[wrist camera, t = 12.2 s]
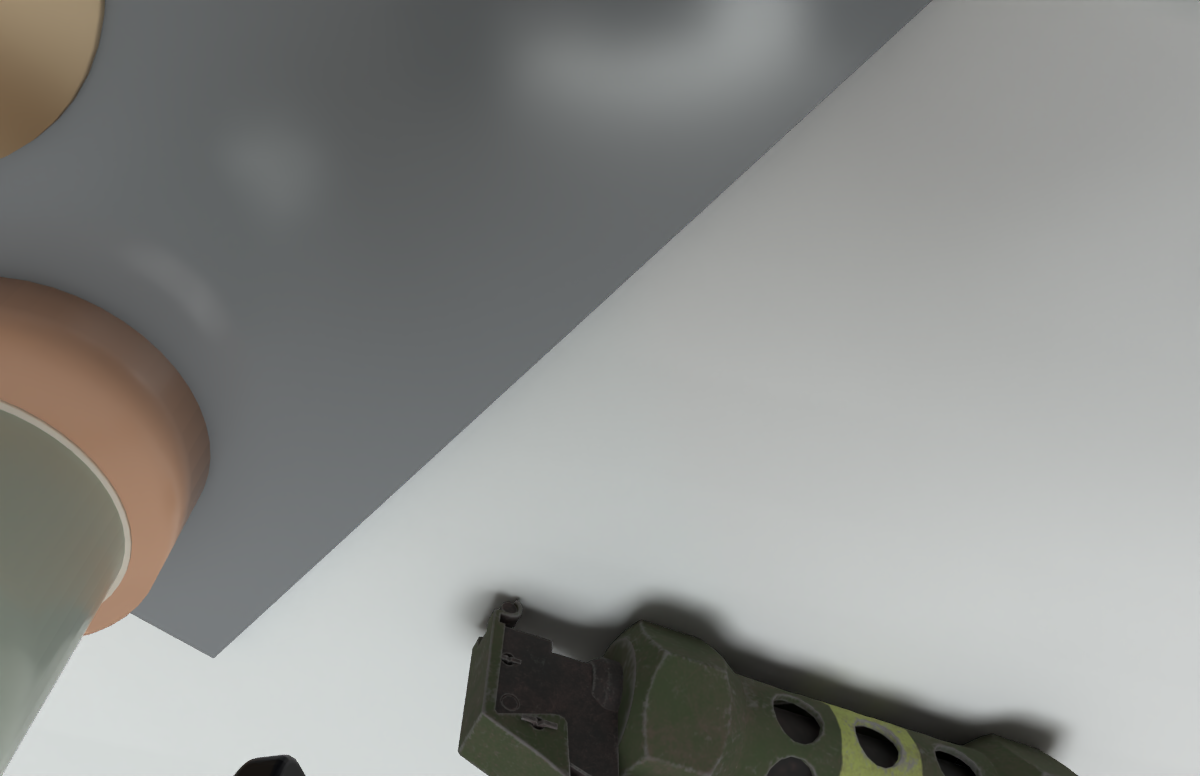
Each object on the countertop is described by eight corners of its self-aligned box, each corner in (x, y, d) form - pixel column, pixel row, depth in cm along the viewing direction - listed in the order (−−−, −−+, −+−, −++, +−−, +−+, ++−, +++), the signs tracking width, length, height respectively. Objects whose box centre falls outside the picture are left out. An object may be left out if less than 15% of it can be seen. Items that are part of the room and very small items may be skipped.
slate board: (-121, -1373, 10) (-159, -1431, 10) (946, -30, 18) (957, -23, 17) (-595, 189, 20) (-626, 201, 19) (220, 641, 27) (213, 658, 27)
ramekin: (-52, 204, 19) (-153, 276, 17) (274, 422, 22) (231, 512, 20) (-195, 429, 22) (-299, 519, 20) (109, 595, 25) (52, 693, 23)
